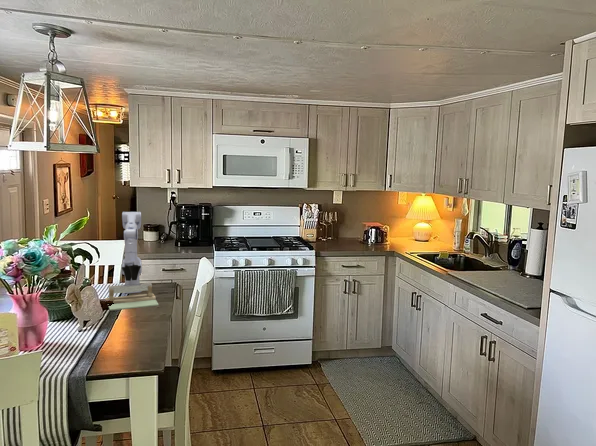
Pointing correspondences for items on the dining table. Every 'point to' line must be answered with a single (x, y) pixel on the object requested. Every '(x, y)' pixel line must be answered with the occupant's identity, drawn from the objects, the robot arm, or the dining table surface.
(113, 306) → the mat
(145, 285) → the rail
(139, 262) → the robot arm
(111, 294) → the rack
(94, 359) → the dining table surface
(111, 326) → the dining table surface
